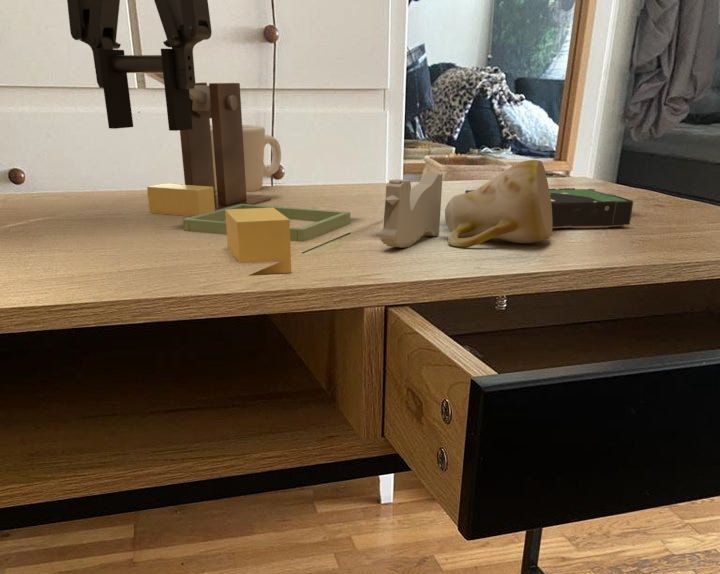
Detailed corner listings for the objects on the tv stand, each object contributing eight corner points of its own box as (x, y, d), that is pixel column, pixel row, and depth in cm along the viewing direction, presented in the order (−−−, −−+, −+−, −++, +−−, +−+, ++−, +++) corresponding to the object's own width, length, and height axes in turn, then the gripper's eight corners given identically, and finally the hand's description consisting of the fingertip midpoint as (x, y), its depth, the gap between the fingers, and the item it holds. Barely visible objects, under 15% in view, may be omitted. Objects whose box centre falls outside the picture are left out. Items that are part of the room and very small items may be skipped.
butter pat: (291, 272, 60) (289, 219, 58) (240, 275, 58) (237, 221, 57) (275, 257, 65) (273, 207, 63) (228, 259, 63) (224, 209, 62)
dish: (184, 241, 70) (182, 219, 69) (241, 224, 78) (240, 203, 77) (303, 253, 66) (303, 229, 65) (350, 233, 74) (350, 211, 73)
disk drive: (493, 233, 75) (631, 227, 78) (495, 203, 74) (636, 198, 76) (461, 216, 84) (587, 211, 87) (463, 189, 83) (590, 185, 85)
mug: (444, 232, 76) (502, 138, 72) (522, 287, 74) (587, 193, 70) (420, 224, 69) (483, 120, 65) (506, 284, 67) (576, 180, 63)
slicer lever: (164, 76, 68) (166, 46, 67) (109, 75, 70) (111, 46, 69) (240, 119, 80) (242, 94, 79) (191, 117, 82) (193, 93, 81)
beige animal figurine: (438, 236, 74) (391, 253, 66) (425, 234, 74) (377, 251, 67) (442, 172, 71) (394, 182, 63) (429, 171, 72) (379, 181, 64)
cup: (264, 189, 102) (260, 123, 98) (298, 195, 97) (296, 126, 93) (192, 195, 96) (185, 125, 92) (224, 203, 91) (219, 129, 87)
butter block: (150, 222, 79) (146, 186, 77) (168, 218, 81) (164, 183, 80) (200, 227, 77) (197, 190, 75) (216, 222, 79) (213, 186, 78)
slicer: (225, 223, 79) (214, 83, 73) (160, 217, 82) (145, 82, 76) (271, 209, 87) (265, 82, 81) (211, 204, 90) (201, 82, 84)
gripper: (242, -191, 61) (259, 129, 71) (53, -166, 67) (95, 124, 78) (189, -221, 54) (216, 134, 65) (-13, -191, 61) (42, 128, 72)
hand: (150, 128), depth 72 cm, fingers closed on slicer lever, 6 cm apart
